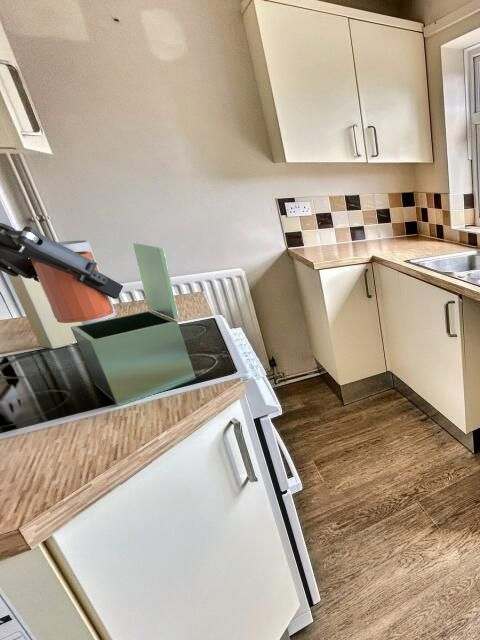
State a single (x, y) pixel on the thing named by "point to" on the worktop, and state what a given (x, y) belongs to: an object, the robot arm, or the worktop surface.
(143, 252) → the box lid
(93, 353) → the green open box
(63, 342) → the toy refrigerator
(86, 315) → the cup
